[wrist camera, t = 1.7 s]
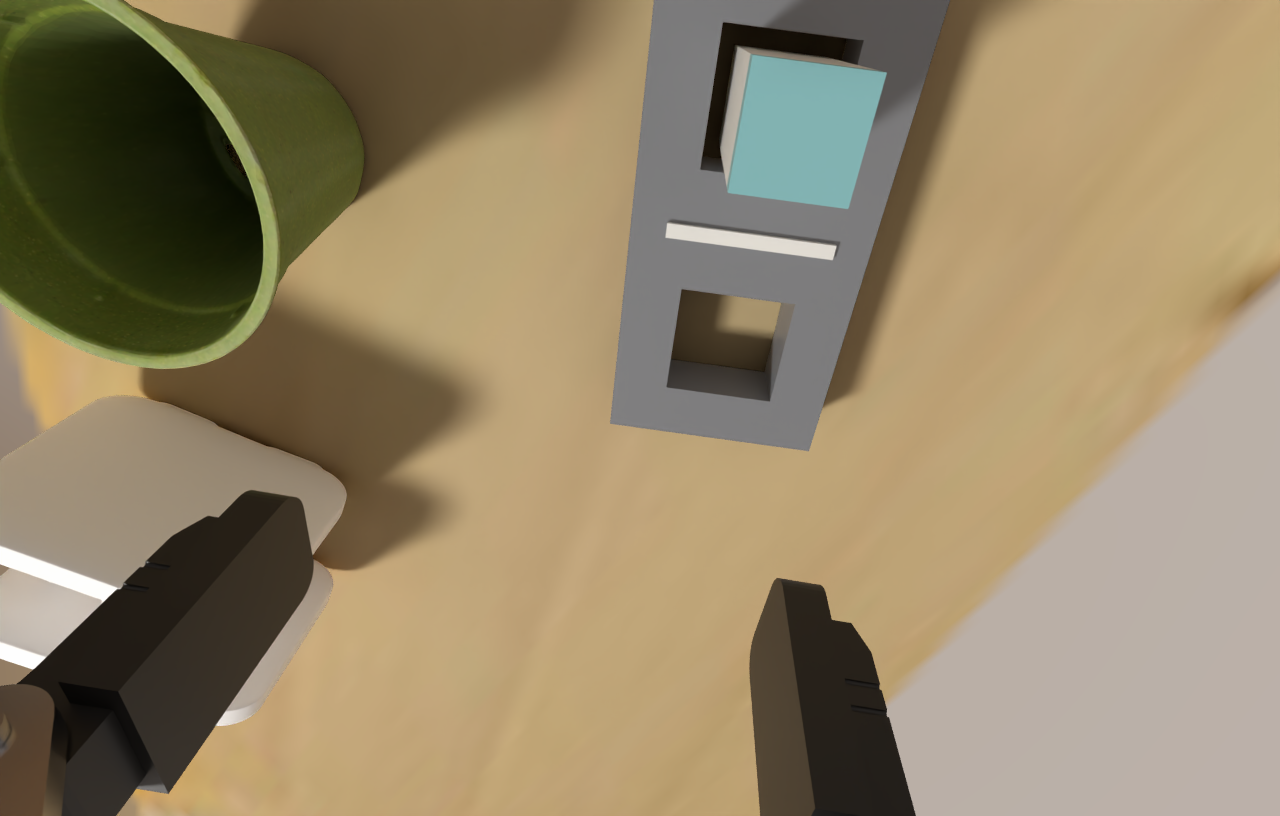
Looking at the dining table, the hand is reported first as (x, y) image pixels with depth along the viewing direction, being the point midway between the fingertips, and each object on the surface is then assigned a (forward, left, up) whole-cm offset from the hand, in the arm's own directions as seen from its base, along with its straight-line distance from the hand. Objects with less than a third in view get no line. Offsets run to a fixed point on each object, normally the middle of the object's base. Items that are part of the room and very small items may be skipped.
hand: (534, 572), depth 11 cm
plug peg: (-6, +5, -22) cm, 23 cm away
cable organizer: (+20, -23, -22) cm, 38 cm away
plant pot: (-2, -16, -22) cm, 27 cm away
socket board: (-1, +5, -22) cm, 22 cm away
